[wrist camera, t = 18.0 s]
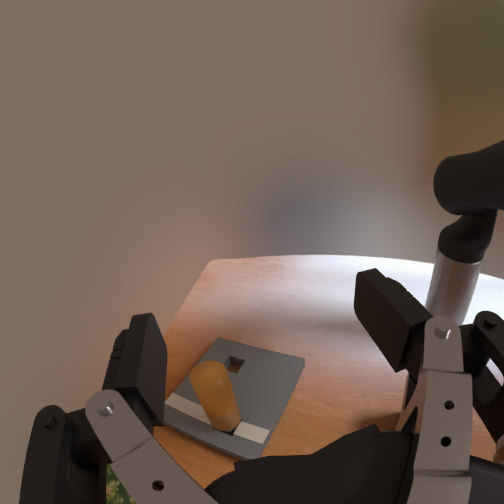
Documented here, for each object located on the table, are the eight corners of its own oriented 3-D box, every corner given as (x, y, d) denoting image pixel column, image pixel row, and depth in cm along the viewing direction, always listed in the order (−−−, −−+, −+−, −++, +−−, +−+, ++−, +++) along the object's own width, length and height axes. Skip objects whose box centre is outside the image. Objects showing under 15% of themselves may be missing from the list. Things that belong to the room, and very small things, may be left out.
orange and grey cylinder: (224, 414, 38) (202, 356, 32) (250, 423, 37) (234, 366, 30) (210, 436, 35) (182, 381, 29) (236, 446, 33) (214, 394, 27)
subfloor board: (220, 344, 53) (217, 336, 52) (304, 365, 46) (304, 357, 45) (159, 421, 38) (154, 414, 37) (255, 465, 30) (253, 460, 29)
